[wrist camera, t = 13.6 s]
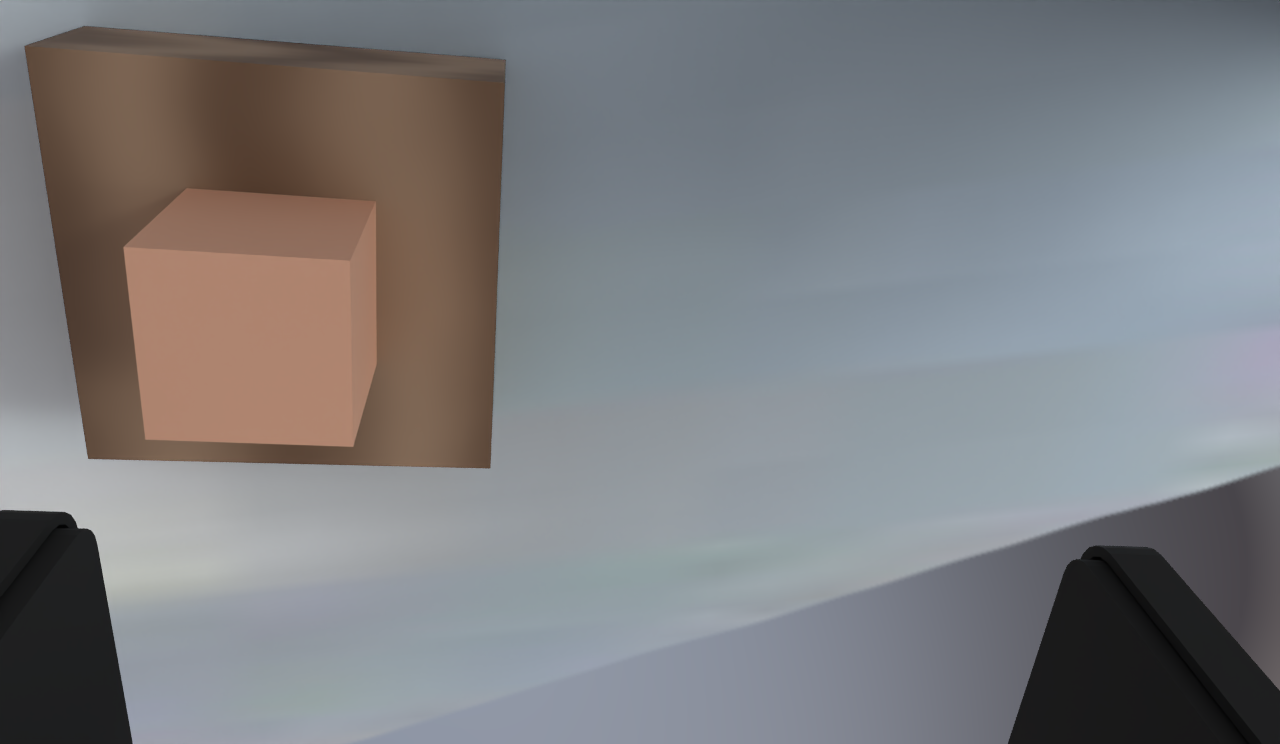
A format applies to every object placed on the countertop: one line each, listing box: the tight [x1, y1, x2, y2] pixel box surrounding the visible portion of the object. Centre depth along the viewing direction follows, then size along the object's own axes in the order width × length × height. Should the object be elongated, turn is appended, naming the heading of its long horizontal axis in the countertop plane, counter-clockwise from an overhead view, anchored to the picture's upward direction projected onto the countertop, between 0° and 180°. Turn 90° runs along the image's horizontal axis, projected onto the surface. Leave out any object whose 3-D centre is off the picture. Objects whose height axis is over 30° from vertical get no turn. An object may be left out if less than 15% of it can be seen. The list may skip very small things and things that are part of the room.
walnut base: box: [25, 26, 506, 468], centre depth 31 cm, size 12×12×4 cm
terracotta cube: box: [123, 188, 377, 447], centre depth 27 cm, size 5×5×5 cm
